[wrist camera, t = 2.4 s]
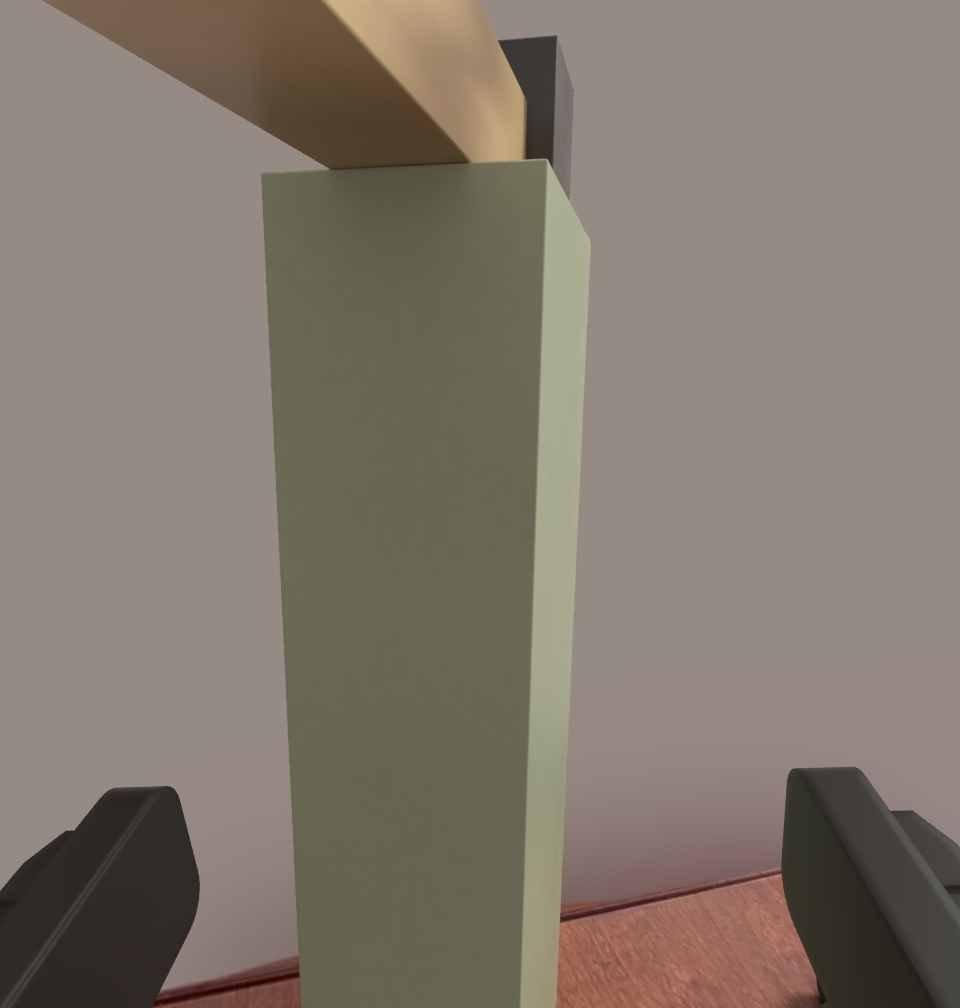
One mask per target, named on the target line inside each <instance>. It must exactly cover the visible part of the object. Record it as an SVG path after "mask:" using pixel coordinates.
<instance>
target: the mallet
mask: <svg viewBox="0 0 960 1008" xmlns="http://www.w3.org/2000/svg"><path fill="white" fill-rule="evenodd" d="M43 1H45V2H46V3H48V4H50V5H51V6H53V7H55V8H56V9H58V10H60V11H62V12H63V13H65V14H67V15H68V16H70V17H72V18H73V19H75V20H77V21H79V22H80V23H82V24H84V25H85V26H87V27H89V28H90V29H92V30H94V31H96V32H97V33H99V34H101V35H103V36H104V37H106V38H108V39H109V40H111V41H113V42H114V43H116V44H118V45H120V46H121V47H123V48H125V49H126V50H128V51H130V52H131V53H133V54H135V55H137V56H138V57H140V58H142V59H143V60H145V61H147V62H149V63H150V64H152V65H154V66H155V67H157V68H159V69H160V70H162V71H164V72H166V73H167V74H169V75H171V76H172V77H174V78H176V79H178V80H179V81H181V82H183V83H184V84H186V85H188V86H189V87H191V88H193V89H195V90H196V91H198V92H200V93H201V94H203V95H205V96H206V97H209V98H210V99H212V100H213V101H215V102H217V103H218V104H220V105H222V106H223V107H225V108H227V109H229V110H230V111H232V112H234V113H236V114H237V115H239V116H241V117H243V118H244V119H246V120H247V121H249V122H251V123H253V124H254V125H256V126H258V127H259V128H261V129H263V130H264V131H266V132H268V133H270V134H271V135H273V136H275V137H276V138H278V139H280V140H282V141H283V142H285V143H287V144H288V145H290V146H292V147H293V148H295V149H297V150H299V151H301V152H302V153H304V154H305V155H307V156H309V157H311V158H312V159H314V160H316V161H317V162H319V163H321V164H323V165H324V166H326V167H328V168H329V169H346V168H366V167H387V166H407V165H428V164H448V163H469V162H489V161H510V160H530V159H547V160H548V161H549V163H550V165H551V167H552V169H553V171H554V173H555V175H556V177H557V179H558V181H559V183H560V185H561V186H562V188H563V190H564V192H565V194H566V196H567V198H568V200H569V194H570V169H571V143H572V118H573V92H574V91H573V88H572V84H571V81H570V78H569V74H568V71H567V67H566V64H565V61H564V57H563V53H562V50H561V47H560V43H559V40H558V36H557V35H551V36H540V37H528V38H518V39H506V40H497V39H496V36H495V34H494V32H493V30H492V28H491V26H490V24H489V22H488V20H487V18H486V15H485V13H484V11H483V9H482V7H481V5H480V3H479V1H478V0H43Z"/></svg>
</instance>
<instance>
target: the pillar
mask: <svg viewBox="0 0 960 1008" xmlns="http://www.w3.org/2000/svg"><path fill="white" fill-rule="evenodd" d="M261 178H262V179H261V180H262V199H263V219H264V220H263V221H264V240H265V241H264V242H265V260H266V261H265V262H266V283H267V303H268V324H269V346H270V367H271V387H272V408H273V425H274V426H273V429H274V449H275V470H276V491H277V512H278V533H279V552H280V574H281V593H282V615H283V636H284V657H285V676H286V677H285V678H286V699H287V717H288V718H287V719H288V740H289V761H290V781H291V801H292V823H293V843H294V864H295V884H296V906H297V927H298V948H299V969H300V989H301V1008H556V994H557V972H558V950H559V928H560V906H561V884H562V862H563V839H564V818H565V797H566V775H567V774H566V773H567V752H568V730H569V708H570V685H571V665H572V664H571V663H572V642H573V620H574V598H575V577H576V555H577V532H578V512H579V490H580V466H581V445H582V424H583V423H582V421H583V402H584V400H583V399H584V379H585V357H586V336H587V314H588V292H589V269H590V247H591V242H590V240H589V238H588V236H587V235H586V233H585V231H584V229H583V227H582V225H581V223H580V221H579V220H578V217H577V215H576V213H575V211H574V210H573V208H572V206H571V204H570V202H569V200H568V198H567V196H566V194H565V192H564V190H563V188H562V186H561V185H560V183H559V181H558V179H557V177H556V175H555V173H554V171H553V169H552V167H551V165H550V163H549V161H548V160H547V159H530V160H510V161H489V162H469V163H448V164H428V165H407V166H387V167H366V168H346V169H325V170H305V171H285V172H264V173H262V174H261Z"/></svg>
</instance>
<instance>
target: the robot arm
mask: <svg viewBox="0 0 960 1008" xmlns="http://www.w3.org/2000/svg"><path fill="white" fill-rule="evenodd" d="M784 820H785V821H784V833H783V848H782V865H781V868H782V881H783V888H784V893H785V898H786V902H787V906H788V909H789V912H790V915H791V918H792V921H793V923H794V926H795V928H796V930H797V933H798V935H799V937H800V940H801V942H802V944H803V947H804V949H805V951H806V954H807V956H808V958H809V961H810V963H811V965H812V968H813V970H814V972H815V975H816V977H817V979H818V982H819V984H820V986H821V989H822V991H823V993H824V996H825V998H826V1000H827V1003H828V1005H829V1007H830V1008H960V847H959V846H958V845H957V844H956V843H955V842H954V841H952V840H951V839H949V838H948V837H947V836H946V835H944V834H943V833H942V832H940V831H939V830H938V829H936V828H935V827H934V826H932V825H931V824H930V823H928V822H927V821H926V820H924V819H923V818H922V817H920V816H919V815H918V814H916V813H915V812H914V811H890V810H889V809H888V807H887V806H886V804H885V803H884V801H883V800H882V799H881V797H880V796H879V794H878V793H877V792H876V790H875V789H874V787H873V786H872V784H871V783H870V782H869V780H868V779H867V777H866V776H865V775H864V774H863V772H862V771H861V770H859V769H858V768H856V767H831V768H830V767H829V768H797V769H792V770H791V771H790V773H789V775H788V779H787V790H786V805H785V819H784ZM199 891H200V882H199V874H198V870H197V866H196V862H195V858H194V854H193V850H192V846H191V842H190V838H189V835H188V831H187V827H186V822H185V819H184V815H183V811H182V807H181V803H180V799H179V796H178V794H177V792H176V791H175V790H174V789H173V788H171V787H169V786H156V787H125V788H113V789H111V790H108V791H107V792H106V793H105V794H104V795H103V796H102V797H101V798H100V799H99V800H98V802H97V803H96V804H95V805H94V807H93V808H92V809H91V810H90V812H89V813H88V814H87V815H86V817H85V818H84V819H83V820H82V822H81V823H80V824H79V825H78V827H77V828H76V829H75V830H74V831H65V832H64V833H62V834H61V835H60V836H58V837H57V838H56V839H54V840H53V841H52V842H50V843H49V844H48V845H47V846H45V847H44V848H43V849H41V850H40V851H39V852H37V853H36V854H35V855H34V856H32V857H31V858H30V859H28V860H27V861H26V862H25V863H23V865H22V866H21V867H20V868H19V869H18V870H17V872H16V873H15V874H14V875H13V876H12V878H11V879H10V880H9V881H8V883H7V884H6V885H5V886H4V887H3V888H2V889H1V891H0V1008H151V1007H152V1005H153V1003H154V1001H155V999H156V997H157V995H158V993H159V991H160V989H161V987H162V985H163V983H164V981H165V979H166V977H167V975H168V973H169V971H170V969H171V967H172V965H173V963H174V961H175V959H176V957H177V955H178V953H179V951H180V949H181V947H182V945H183V943H184V941H185V939H186V937H187V935H188V933H189V931H190V929H191V926H192V924H193V921H194V919H195V915H196V911H197V907H198V901H199Z"/></svg>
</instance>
